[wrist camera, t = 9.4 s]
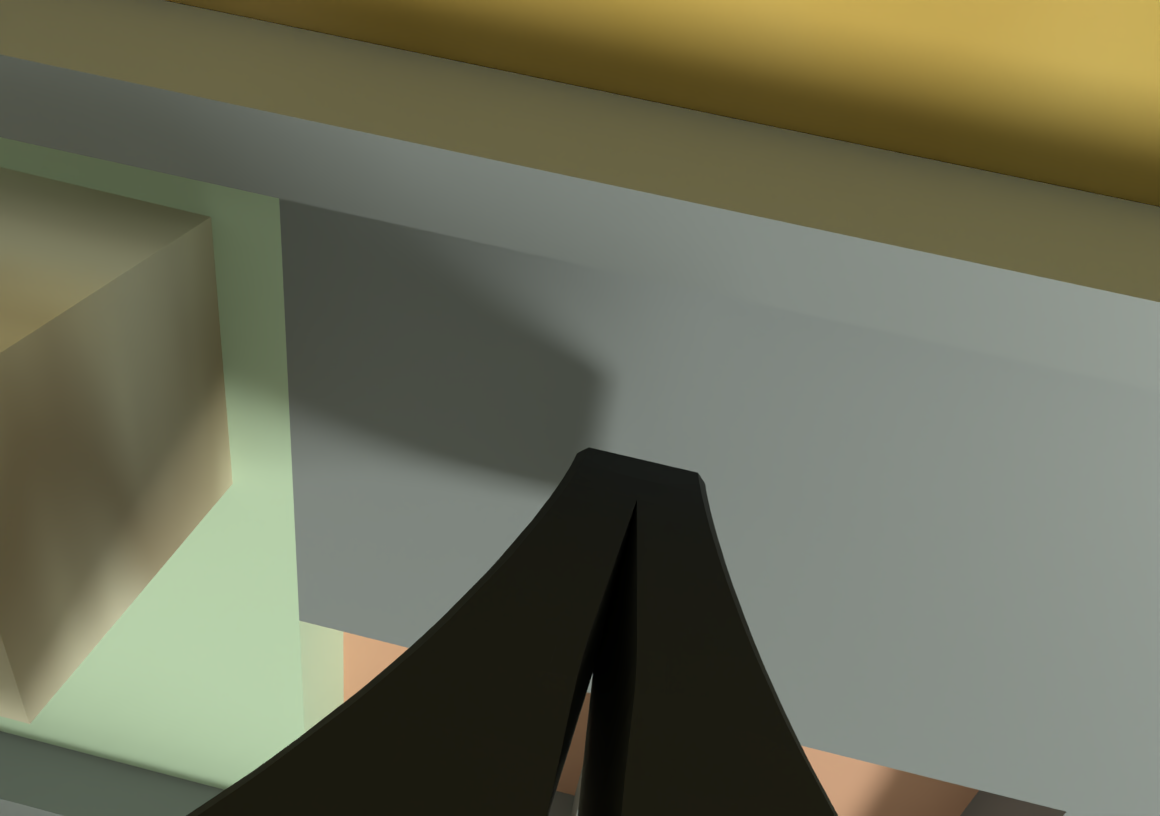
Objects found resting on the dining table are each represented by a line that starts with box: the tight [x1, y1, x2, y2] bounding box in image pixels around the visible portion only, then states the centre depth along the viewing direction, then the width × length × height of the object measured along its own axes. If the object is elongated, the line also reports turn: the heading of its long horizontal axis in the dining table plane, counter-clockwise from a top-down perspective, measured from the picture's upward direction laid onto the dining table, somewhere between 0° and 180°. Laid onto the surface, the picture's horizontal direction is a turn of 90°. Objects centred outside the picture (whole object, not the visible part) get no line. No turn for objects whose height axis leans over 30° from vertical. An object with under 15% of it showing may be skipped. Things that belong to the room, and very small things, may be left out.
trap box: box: [0, 0, 1160, 816], centre depth 13 cm, size 15×27×3 cm, turn 81°
